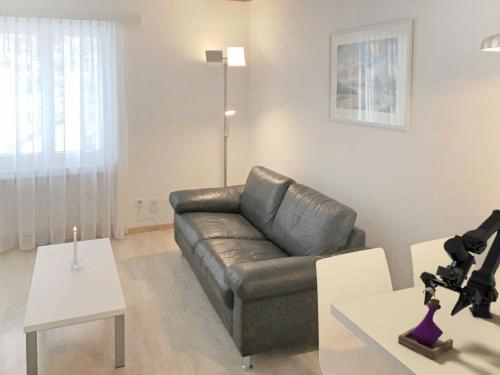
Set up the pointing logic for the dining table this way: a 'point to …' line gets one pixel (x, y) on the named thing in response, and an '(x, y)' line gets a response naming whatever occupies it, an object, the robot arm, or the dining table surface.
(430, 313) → the perfume bottle
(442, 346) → the wooden tray
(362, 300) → the dining table surface
